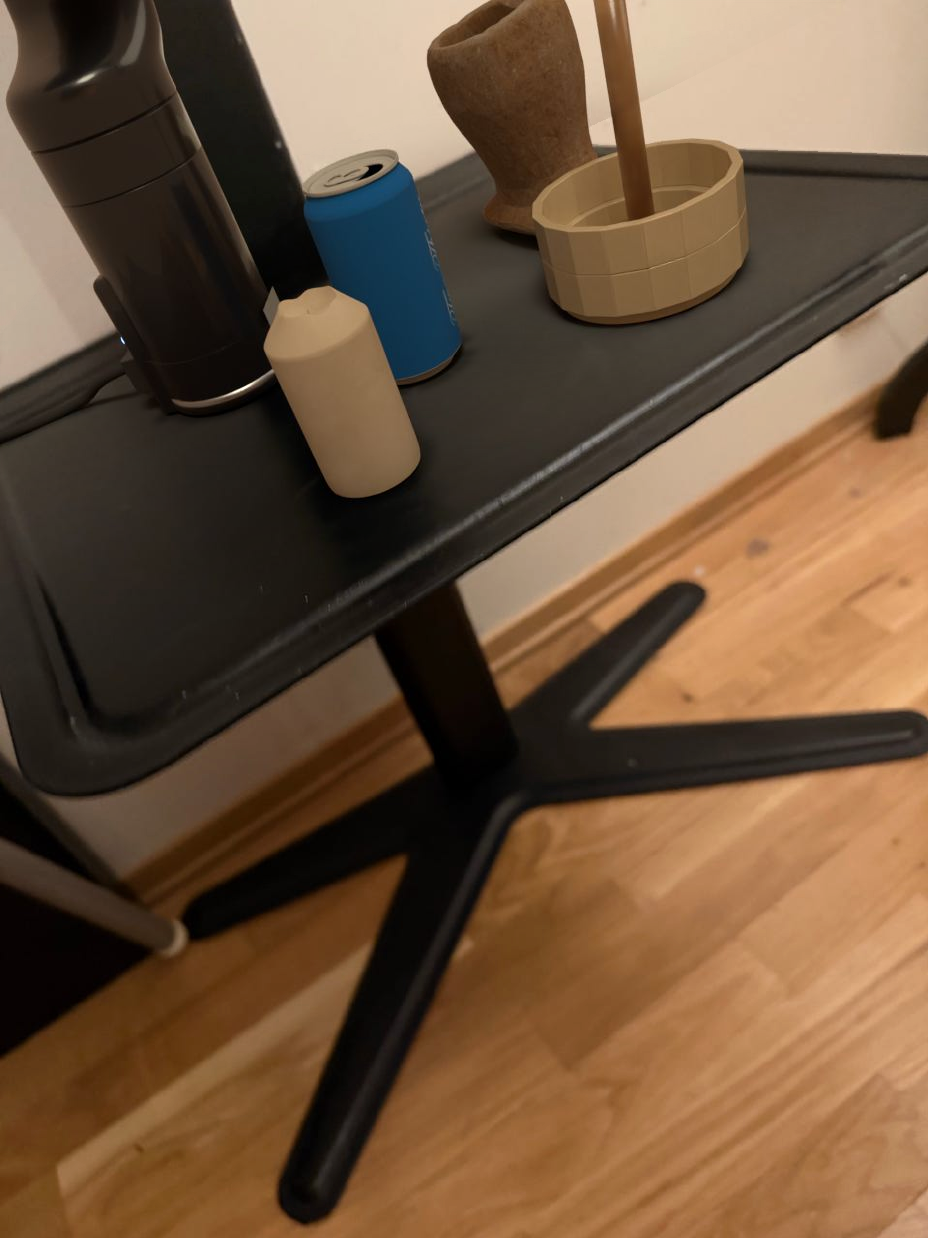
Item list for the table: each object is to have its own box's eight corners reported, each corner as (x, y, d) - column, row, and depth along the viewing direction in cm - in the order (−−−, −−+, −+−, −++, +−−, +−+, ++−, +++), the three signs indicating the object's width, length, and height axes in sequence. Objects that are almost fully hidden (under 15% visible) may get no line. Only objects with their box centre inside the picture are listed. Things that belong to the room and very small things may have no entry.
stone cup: (449, 243, 71) (385, 27, 61) (569, 178, 73) (526, -39, 63) (562, 283, 60) (506, 28, 50) (698, 206, 62) (670, -51, 52)
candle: (385, 505, 47) (310, 330, 40) (309, 493, 50) (228, 328, 43) (440, 443, 50) (379, 271, 43) (365, 435, 53) (297, 272, 46)
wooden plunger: (612, 292, 55) (555, -25, 44) (608, 260, 58) (554, -42, 47) (692, 273, 54) (654, -58, 43) (683, 241, 57) (646, -73, 46)
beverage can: (464, 376, 54) (400, 173, 47) (364, 401, 56) (285, 207, 48) (466, 327, 59) (408, 135, 51) (374, 351, 60) (303, 168, 53)
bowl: (553, 348, 54) (530, 251, 50) (552, 262, 63) (532, 174, 59) (764, 299, 51) (758, 192, 47) (732, 216, 60) (724, 120, 56)
